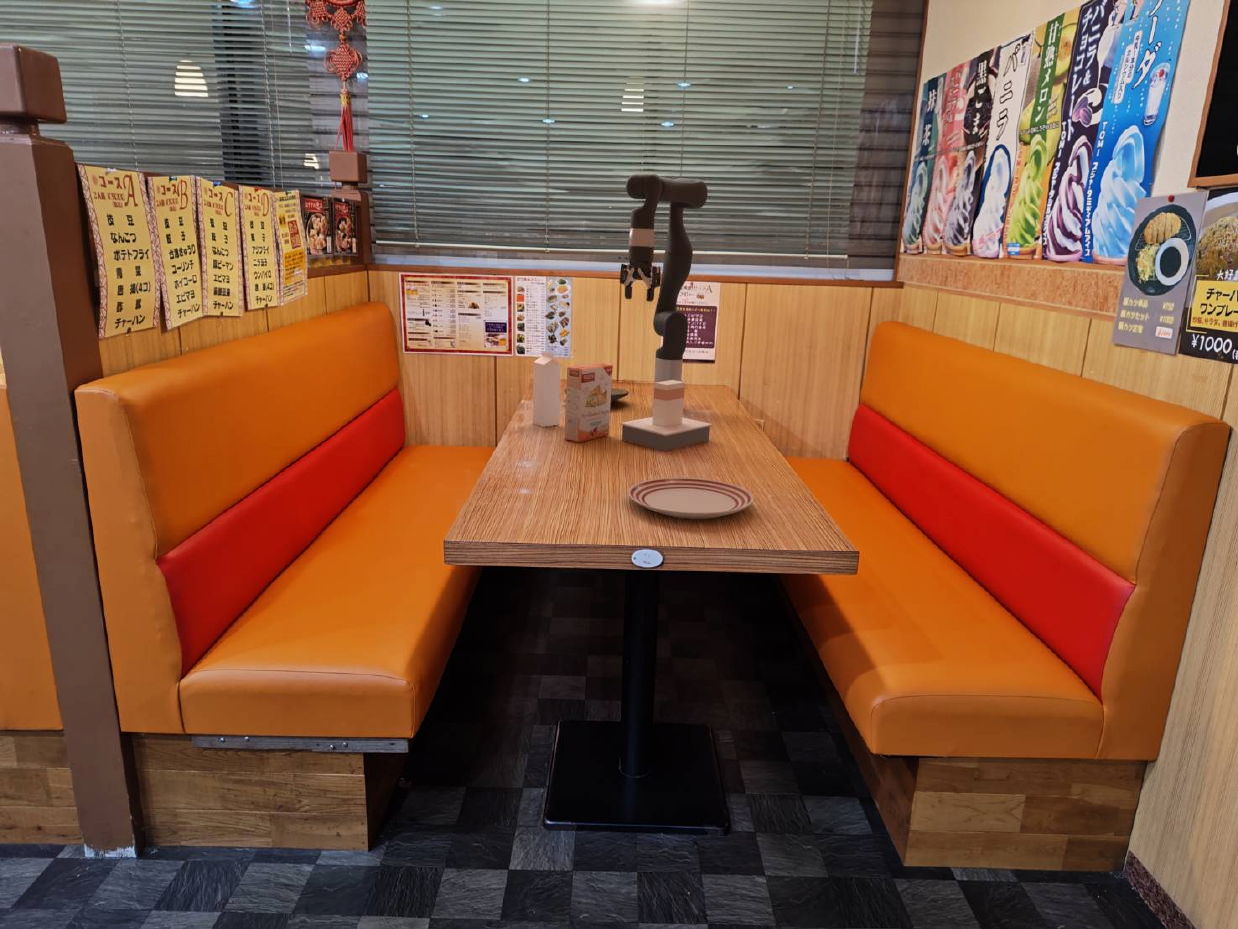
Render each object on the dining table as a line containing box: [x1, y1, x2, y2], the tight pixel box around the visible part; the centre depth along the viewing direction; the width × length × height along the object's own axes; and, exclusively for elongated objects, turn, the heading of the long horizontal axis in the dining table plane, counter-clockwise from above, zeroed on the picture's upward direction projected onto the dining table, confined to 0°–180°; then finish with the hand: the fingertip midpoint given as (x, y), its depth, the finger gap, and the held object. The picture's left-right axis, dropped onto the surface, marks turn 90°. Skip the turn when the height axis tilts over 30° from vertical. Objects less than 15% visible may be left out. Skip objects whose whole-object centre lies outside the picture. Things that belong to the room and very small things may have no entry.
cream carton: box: [652, 380, 686, 427], centre depth 234 cm, size 5×8×12 cm, turn 137°
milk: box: [532, 350, 562, 428], centre depth 248 cm, size 6×6×22 cm
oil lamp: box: [564, 387, 630, 403], centre depth 287 cm, size 22×30×8 cm
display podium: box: [619, 416, 713, 452], centre depth 236 cm, size 21×17×5 cm
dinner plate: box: [627, 476, 755, 520], centre depth 180 cm, size 27×27×3 cm
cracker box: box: [563, 362, 614, 443], centre depth 233 cm, size 14×6×21 cm, turn 143°
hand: (639, 300), depth 248 cm, fingers open, 8 cm apart
